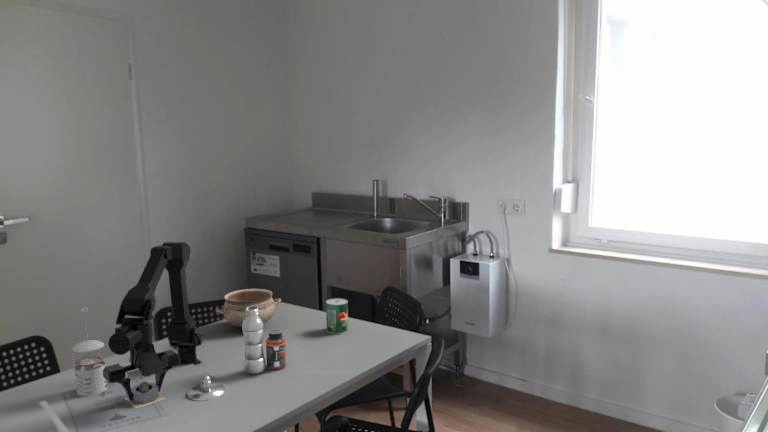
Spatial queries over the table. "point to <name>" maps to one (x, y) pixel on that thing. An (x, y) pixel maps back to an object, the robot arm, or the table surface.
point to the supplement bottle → (275, 350)
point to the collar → (145, 394)
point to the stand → (142, 387)
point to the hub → (206, 390)
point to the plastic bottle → (253, 342)
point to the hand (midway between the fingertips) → (144, 395)
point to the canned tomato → (337, 315)
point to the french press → (89, 366)
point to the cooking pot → (248, 305)
